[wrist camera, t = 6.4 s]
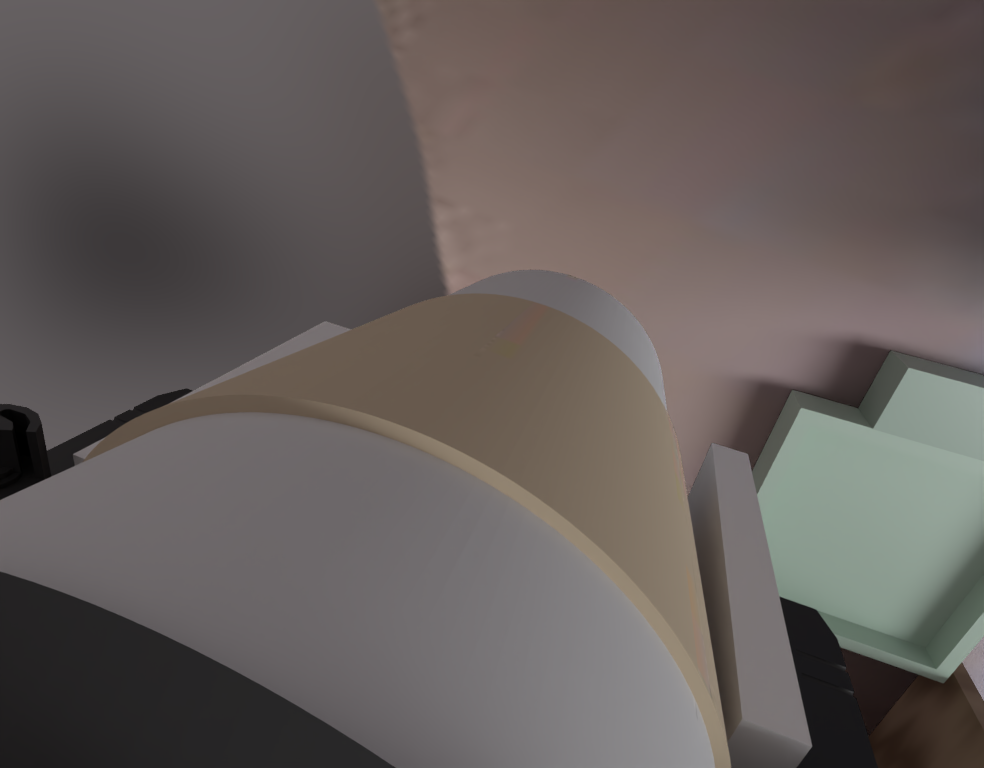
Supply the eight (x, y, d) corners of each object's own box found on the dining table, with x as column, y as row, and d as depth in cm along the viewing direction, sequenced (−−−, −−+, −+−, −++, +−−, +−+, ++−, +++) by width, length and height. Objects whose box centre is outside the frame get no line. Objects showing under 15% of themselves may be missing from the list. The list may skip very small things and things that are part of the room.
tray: (820, 331, 30) (832, 347, 28) (1117, 411, 28) (1157, 434, 26) (702, 573, 38) (704, 600, 36) (927, 650, 35) (944, 685, 33)
